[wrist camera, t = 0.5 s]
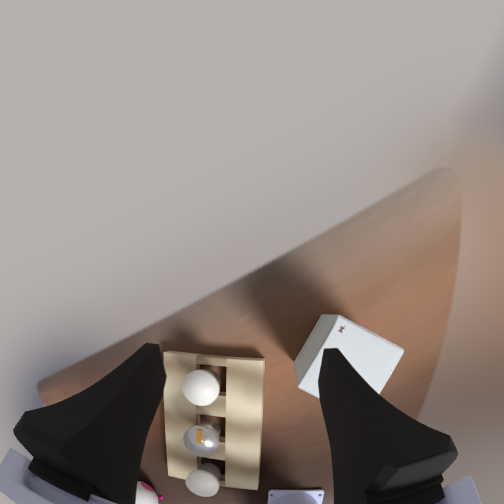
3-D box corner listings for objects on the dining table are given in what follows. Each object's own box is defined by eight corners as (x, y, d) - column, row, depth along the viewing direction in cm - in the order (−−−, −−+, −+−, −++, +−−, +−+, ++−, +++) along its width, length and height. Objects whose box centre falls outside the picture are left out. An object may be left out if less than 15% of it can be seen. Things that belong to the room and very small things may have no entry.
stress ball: (145, 466, 35) (111, 470, 30) (170, 488, 30) (132, 496, 25) (147, 495, 33) (115, 500, 29) (171, 518, 28) (136, 526, 23)
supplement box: (292, 362, 34) (293, 386, 22) (321, 312, 35) (339, 311, 22) (340, 387, 32) (363, 420, 20) (369, 338, 33) (407, 348, 21)
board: (258, 483, 30) (257, 489, 28) (173, 469, 32) (168, 475, 30) (264, 358, 34) (263, 360, 32) (169, 350, 36) (163, 352, 34)
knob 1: (225, 398, 31) (217, 407, 27) (193, 394, 32) (182, 402, 28) (226, 366, 32) (218, 372, 28) (193, 363, 33) (181, 368, 29)
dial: (225, 445, 30) (217, 459, 26) (193, 440, 30) (182, 453, 26) (225, 418, 31) (217, 430, 27) (193, 413, 31) (181, 424, 27)
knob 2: (225, 484, 28) (218, 499, 24) (195, 479, 29) (186, 493, 25) (225, 462, 29) (217, 476, 25) (194, 457, 30) (184, 470, 26)
